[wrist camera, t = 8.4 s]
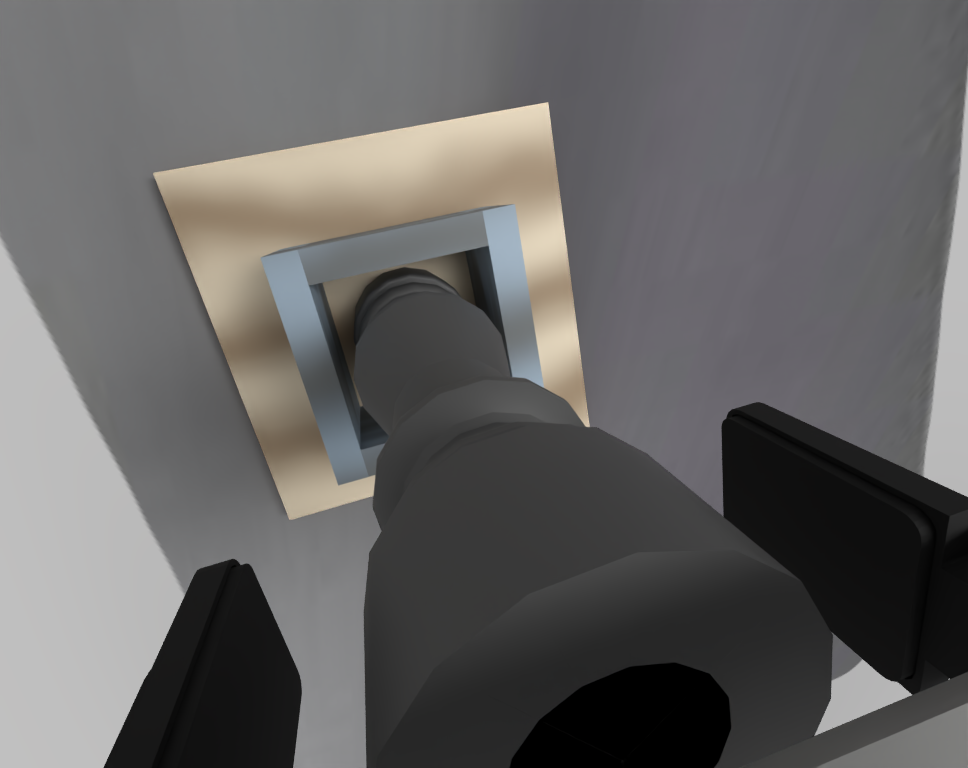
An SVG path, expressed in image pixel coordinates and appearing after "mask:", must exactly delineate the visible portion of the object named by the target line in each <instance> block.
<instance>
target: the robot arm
mask: <svg viewBox="0 0 968 768" xmlns="http://www.w3.org/2000/svg"><path fill="white" fill-rule="evenodd" d="M722 466H723V509H724V518H725V519H727V520H728V521H729V522H730V523H731V524H733V525H734V526H735V527H736V528H737V529H739V530H740V531H741V532H742V533H744V534H745V535H746V536H747V537H748V538H750V539H751V540H752V541H753V542H754V543H756V544H757V545H758V546H759V547H760V548H762V549H763V550H764V551H765V552H767V553H768V554H769V555H770V556H771V557H773V558H774V559H775V560H776V561H777V562H779V563H780V564H781V565H782V566H783V567H785V568H786V569H787V570H788V571H790V572H791V573H792V574H793V575H794V576H796V577H797V578H798V579H799V580H800V581H802V583H803V585H804V586H805V588H806V590H807V592H808V593H809V595H810V597H811V598H812V600H813V602H814V604H815V605H816V607H817V609H818V610H819V612H820V614H821V616H822V617H823V619H824V621H825V622H826V624H827V626H828V628H829V629H830V631H831V632H832V633H834V634H835V635H836V636H837V637H838V638H839V639H840V640H842V641H843V642H844V643H845V644H846V645H847V646H848V647H850V648H851V649H852V650H853V651H854V652H855V653H856V654H858V655H859V656H860V657H861V658H862V659H863V660H864V661H866V662H867V663H868V664H869V665H870V666H871V667H873V669H875V670H876V671H877V672H878V673H879V674H881V675H882V676H883V677H885V678H886V679H888V680H890V681H895V682H898V683H900V684H901V685H902V686H903V687H904V688H905V689H906V690H908V691H909V692H910V693H911V694H912V696H909V697H907V698H905V699H902V700H900V701H897V702H895V703H893V704H890V705H888V706H885V707H883V708H881V709H878V710H876V711H873V712H871V713H869V714H866V715H864V716H862V717H859V718H857V719H854V720H852V721H850V722H847V723H845V724H842V725H840V726H838V727H835V728H833V729H830V730H828V731H826V732H823V733H821V734H818V735H816V736H814V737H811V738H809V739H807V740H804V741H802V742H800V743H797V744H795V745H793V746H790V747H788V748H786V749H783V750H781V751H778V752H776V753H774V754H771V755H769V756H767V757H764V758H762V759H760V760H757V761H755V762H753V763H750V764H748V765H746V766H743V767H741V768H968V497H966V496H964V495H962V494H960V493H957V492H955V491H953V490H951V489H949V488H947V487H944V486H942V485H940V484H938V483H936V482H933V481H931V480H929V479H927V478H925V477H923V476H920V475H918V474H916V473H914V472H912V471H910V470H907V469H905V468H903V467H901V466H899V465H896V464H894V463H892V462H890V461H888V460H886V459H883V458H881V457H879V456H877V455H875V454H872V453H870V452H868V451H866V450H864V449H862V448H859V447H857V446H855V445H853V444H851V443H849V442H846V441H844V440H842V439H840V438H838V437H835V436H833V435H831V434H829V433H827V432H825V431H822V430H820V429H818V428H816V427H814V426H811V425H809V424H807V423H805V422H803V421H801V420H798V419H796V418H794V417H792V416H790V415H788V414H785V413H783V412H781V411H779V410H777V409H774V408H772V407H770V406H768V405H766V404H764V403H760V402H757V403H752V404H749V405H746V406H742V407H739V408H736V409H732V410H731V411H730V412H729V413H728V415H727V419H725V420H724V421H723V423H722ZM949 678H950V680H948V679H949ZM301 695H302V688H301V680H300V675H299V672H298V670H297V668H296V665H295V663H294V661H293V659H292V656H291V654H290V652H289V650H288V647H287V645H286V643H285V641H284V638H283V636H282V634H281V632H280V629H279V627H278V625H277V623H276V620H275V618H274V616H273V614H272V611H271V609H270V607H269V605H268V602H267V600H266V598H265V596H264V593H263V591H262V589H261V587H260V584H259V582H258V580H257V578H256V575H255V573H254V571H253V569H252V567H251V566H250V565H249V564H243V565H240V564H239V562H238V561H237V560H235V559H231V560H227V561H224V562H221V563H217V564H214V565H211V566H207V567H204V568H201V569H199V570H197V572H196V573H195V575H194V577H193V579H192V581H191V583H190V586H189V588H188V590H187V592H186V594H185V597H184V599H183V601H182V603H181V606H180V608H179V610H178V612H177V614H176V616H175V618H174V621H173V623H172V625H171V627H170V629H169V632H168V634H167V636H166V638H165V641H164V642H163V645H162V647H161V649H160V651H159V653H158V656H157V658H156V660H155V662H154V665H153V667H152V669H151V670H150V672H149V673H148V675H147V676H146V678H145V679H144V682H143V684H142V686H141V688H140V690H139V692H138V694H137V697H136V699H135V701H134V703H133V705H132V707H131V710H130V712H129V714H128V716H127V718H126V720H125V722H124V725H123V727H122V729H121V731H120V733H119V736H118V738H117V740H116V742H115V744H114V746H113V749H112V751H111V753H110V755H109V757H108V759H107V762H106V764H105V766H104V768H293V763H294V755H295V747H296V738H297V730H298V721H299V713H300V704H301Z"/></svg>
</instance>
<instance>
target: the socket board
mask: <svg viewBox="0 0 968 768" xmlns="http://www.w3.org/2000/svg"><path fill="white" fill-rule="evenodd" d="M153 174H154V177H155V179H156V182H157V185H158V187H159V190H160V192H161V195H162V197H163V200H164V202H165V205H166V207H167V210H168V212H169V215H170V218H171V220H172V223H173V225H174V228H175V230H176V233H177V235H178V238H179V240H180V243H181V245H182V248H183V251H184V253H185V256H186V258H187V261H188V263H189V266H190V268H191V271H192V273H193V276H194V278H195V281H196V284H197V286H198V289H199V291H200V294H201V296H202V299H203V301H204V304H205V306H206V309H207V311H208V314H209V317H210V319H211V322H212V324H213V327H214V329H215V332H216V334H217V337H218V339H219V342H220V344H221V347H222V349H223V352H224V355H225V357H226V360H227V362H228V365H229V367H230V370H231V372H232V375H233V377H234V380H235V382H236V385H237V388H238V390H239V393H240V395H241V398H242V400H243V403H244V405H245V408H246V410H247V413H248V415H249V418H250V421H251V423H252V426H253V428H254V431H255V433H256V436H257V438H258V441H259V443H260V446H261V448H262V451H263V454H264V456H265V459H266V461H267V464H268V466H269V469H270V471H271V474H272V476H273V479H274V481H275V484H276V487H277V489H278V492H279V494H280V497H281V499H282V502H283V504H284V507H285V509H286V512H287V514H288V517H289V519H290V520H292V519H296V518H299V517H303V516H306V515H310V514H313V513H316V512H320V511H323V510H327V509H330V508H334V507H337V506H340V505H344V504H347V503H351V502H354V501H357V500H361V499H364V498H368V497H371V496H373V495H374V484H375V474H376V463H377V457H378V456H379V454H380V452H381V450H382V449H383V447H384V445H385V443H386V441H387V440H388V438H389V436H388V435H387V433H386V432H385V431H384V430H383V429H382V428H381V426H380V425H379V424H378V423H377V422H376V421H375V420H374V418H373V417H372V416H371V415H370V414H369V413H368V412H367V411H366V410H365V408H364V407H363V404H362V401H361V399H360V396H359V393H358V390H357V388H356V385H355V382H354V366H355V353H356V346H355V343H354V320H355V307H356V304H357V302H358V300H359V298H360V297H361V295H362V293H363V291H364V289H365V287H366V286H367V285H368V284H370V283H371V282H372V281H373V280H375V279H376V278H377V277H378V276H380V275H381V274H382V273H384V272H388V271H391V270H395V269H399V268H402V267H408V268H416V269H424V270H427V271H429V272H431V273H432V274H434V275H436V276H437V277H439V278H441V279H443V280H444V281H446V282H447V283H448V284H450V285H451V286H452V287H454V288H455V289H456V291H457V292H458V293H459V295H460V296H461V297H462V299H464V300H466V301H467V302H469V303H471V304H473V305H474V306H476V307H478V308H480V309H481V310H482V311H484V312H485V314H486V315H487V316H488V318H489V319H490V320H491V322H492V323H493V324H494V326H495V327H496V328H497V330H498V331H499V332H500V334H501V336H502V340H503V344H504V349H505V353H506V357H507V361H508V366H509V372H510V377H517V378H526V379H528V380H530V381H532V382H534V383H536V384H538V385H539V386H541V387H543V388H545V389H547V390H549V391H551V392H553V393H554V394H556V395H558V396H560V397H562V398H564V399H565V400H566V401H567V402H568V403H569V404H570V405H571V407H572V408H573V410H574V411H575V412H576V414H577V415H578V417H579V418H580V419H581V421H582V422H583V423H584V425H585V426H586V427H589V419H588V411H587V403H586V395H585V388H584V380H583V372H582V364H581V356H580V349H579V341H578V333H577V325H576V317H575V309H574V302H573V294H572V286H571V278H570V270H569V262H568V255H567V247H566V239H565V231H564V223H563V215H562V208H561V200H560V192H559V184H558V176H557V169H556V161H555V153H554V145H553V137H552V129H551V122H550V114H549V106H548V102H547V103H542V104H536V105H530V106H525V107H519V108H514V109H508V110H502V111H497V112H491V113H486V114H480V115H475V116H469V117H463V118H458V119H452V120H447V121H441V122H435V123H430V124H424V125H419V126H413V127H408V128H402V129H396V130H391V131H385V132H380V133H374V134H368V135H363V136H357V137H352V138H346V139H341V140H335V141H329V142H324V143H318V144H313V145H307V146H301V147H296V148H290V149H285V150H279V151H274V152H268V153H262V154H257V155H251V156H246V157H240V158H234V159H229V160H223V161H218V162H212V163H207V164H201V165H195V166H190V167H184V168H179V169H173V170H168V171H162V172H156V173H153Z"/></svg>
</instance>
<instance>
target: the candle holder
mask: <svg viewBox="0 0 968 768" xmlns="http://www.w3.org/2000/svg"><path fill="white" fill-rule="evenodd" d="M354 343H355V346H356V353H355V366H354V382H355V385H356V388H357V390H358V393H359V396H360V399H361V401H362V404H363V407H364V408H365V410H366V411H367V412H368V413H369V414H370V415H371V416H372V417H373V418H374V420H375V421H376V422H377V423H378V424H379V425H380V426H381V428H382V429H383V430H384V431H385V432H386V433H387V435H388V436H389V438H388V440H387V441H386V443H385V445H384V447H383V449H382V450H381V452H380V454H379V456H378V457H377V463H376V474H375V484H374V495H373V510H374V512H375V515H376V517H377V520H378V523H379V525H380V528H381V530H382V532H381V534H380V535H379V537H378V539H377V540H376V542H375V544H374V545H373V547H372V549H371V551H370V552H369V562H368V573H367V583H366V594H365V604H364V651H365V706H366V762H367V768H741V767H743V766H746V765H748V764H750V763H753V762H755V761H757V760H760V759H762V758H764V757H767V756H769V755H771V754H774V753H776V752H778V751H781V750H783V749H786V748H788V747H790V746H793V745H795V744H797V743H800V742H802V741H804V740H807V739H809V738H811V737H814V735H815V733H816V731H817V728H818V726H819V724H820V722H821V719H822V717H823V715H824V713H825V711H826V708H827V706H828V704H829V702H830V699H831V677H832V643H833V634H832V633H831V631H830V629H829V628H828V626H827V624H826V622H825V621H824V619H823V617H822V616H821V614H820V612H819V610H818V609H817V607H816V605H815V604H814V602H813V600H812V598H811V597H810V595H809V593H808V592H807V590H806V588H805V586H804V585H803V583H802V581H800V580H799V579H798V578H797V577H796V576H794V575H793V574H792V573H791V572H790V571H788V570H787V569H786V568H785V567H783V566H782V565H781V564H780V563H779V562H777V561H776V560H775V559H774V558H773V557H771V556H770V555H769V554H768V553H767V552H765V551H764V550H763V549H762V548H760V547H759V546H758V545H757V544H756V543H754V542H753V541H752V540H751V539H750V538H748V537H747V536H746V535H745V534H744V533H742V532H741V531H740V530H739V529H737V528H736V527H735V526H734V525H733V524H731V523H730V522H729V521H728V520H727V519H725V518H724V517H723V516H722V515H721V514H719V513H718V512H717V511H716V510H714V509H713V508H712V507H711V506H710V505H708V504H707V503H706V502H705V501H704V500H702V499H701V498H700V497H699V496H698V495H696V494H695V493H694V492H693V491H691V490H690V489H689V488H688V487H687V486H685V485H684V484H683V483H682V482H681V481H679V480H678V479H677V478H676V477H675V476H673V475H672V474H671V473H670V472H668V471H667V470H666V469H665V468H664V467H662V466H661V465H660V464H659V463H658V462H656V461H655V460H654V459H653V458H652V457H650V456H649V455H648V454H646V453H645V452H643V451H641V450H639V449H637V448H635V447H633V446H631V445H629V444H627V443H625V442H624V441H622V440H620V439H618V438H616V437H614V436H612V435H610V434H608V433H606V432H605V431H603V430H601V429H599V428H597V427H586V426H585V425H584V423H583V422H582V421H581V419H580V418H579V417H578V415H577V414H576V412H575V411H574V410H573V408H572V407H571V405H570V404H569V403H568V402H567V401H566V400H565V399H564V398H562V397H560V396H558V395H556V394H554V393H553V392H551V391H549V390H547V389H545V388H543V387H541V386H539V385H538V384H536V383H534V382H532V381H530V380H528V379H526V378H517V377H510V372H509V366H508V361H507V357H506V353H505V349H504V344H503V340H502V336H501V334H500V332H499V331H498V330H497V328H496V327H495V326H494V324H493V323H492V322H491V320H490V319H489V318H488V316H487V315H486V314H485V312H484V311H482V310H481V309H480V308H478V307H476V306H474V305H473V304H471V303H469V302H467V301H466V300H464V299H462V297H461V296H460V295H459V293H458V292H457V291H456V289H455V288H454V287H452V286H451V285H450V284H448V283H447V282H446V281H444V280H443V279H441V278H439V277H437V276H436V275H434V274H432V273H431V272H429V271H427V270H424V269H416V268H408V267H402V268H399V269H395V270H391V271H388V272H384V273H382V274H381V275H380V276H378V277H377V278H376V279H375V280H373V281H372V282H371V283H370V284H368V285H367V286H366V287H365V289H364V291H363V293H362V295H361V297H360V298H359V300H358V302H357V304H356V307H355V320H354Z"/></svg>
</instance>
